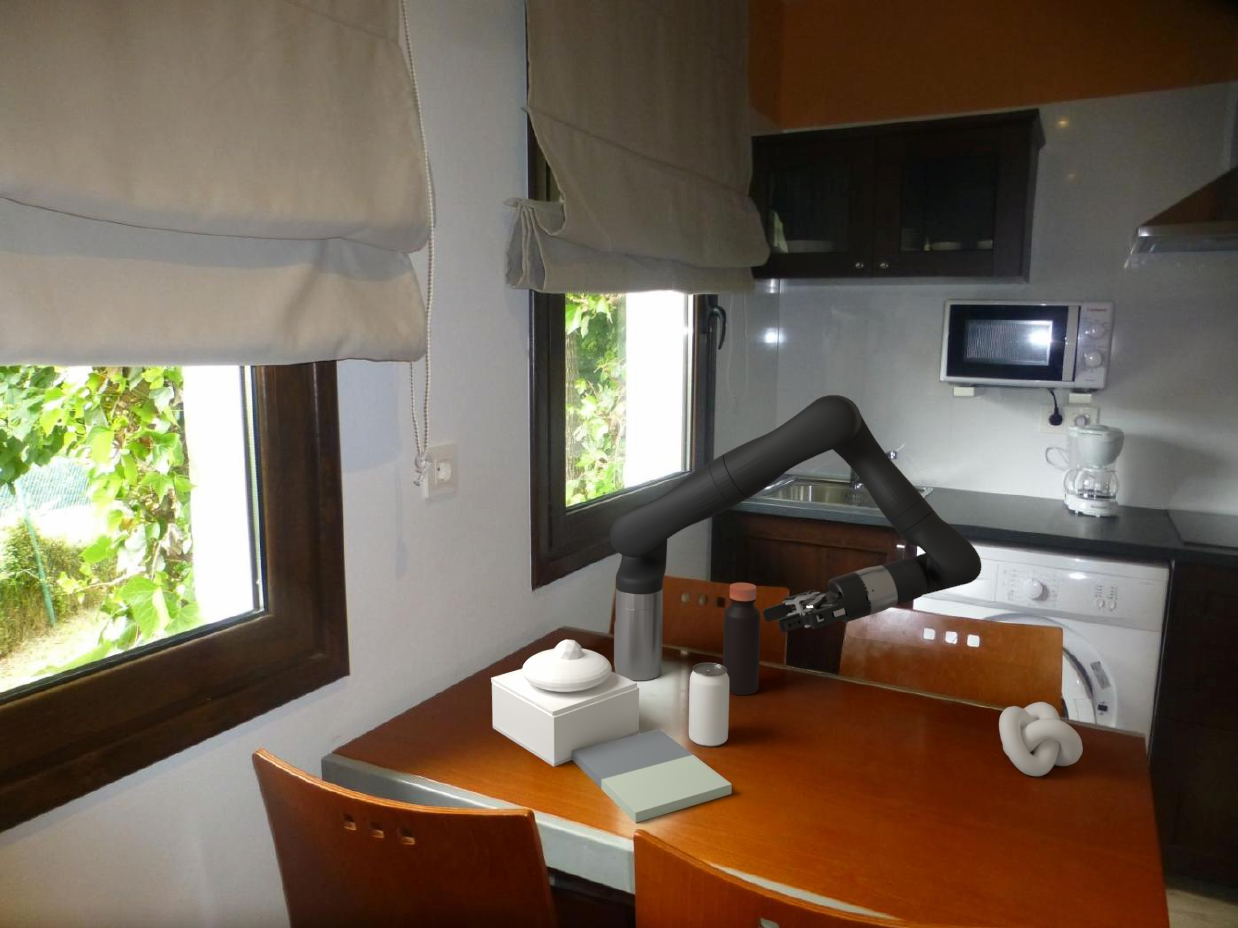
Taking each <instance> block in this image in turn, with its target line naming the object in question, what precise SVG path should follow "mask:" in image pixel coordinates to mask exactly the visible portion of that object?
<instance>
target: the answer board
mask: <svg viewBox="0 0 1238 928" xmlns="http://www.w3.org/2000/svg"><path fill="white" fill-rule="evenodd" d="M571 761H572V762H573V763H575V765H576V766H578V767H579V768H580V769H581V770H582V772H584V774H585V775H587V777H588V778H589V779H590V780H591V781H592V782H593V783H595V784H596V786H598V787H599V788H600V789H601V790H602V792H604V793H605V794H606V795H607V796H608V798H609V799H611V801H613V802H614V803H615V805H617V807H619V808H620V809H621V810H622V811H623V812H624V813H625V815H627V816H628V818H630V819H631V820H632V821H633V822H634V823H635V824H636V823H640V822H644V821H646V820H651V819H653V818H656V817H657V818H658V817H660V816H663V815H666V814H669V813H673V812H676V811H678V810H683V809H686V808H689V807H693V806H695V805H699V804H703V803H706V802H709V801H711V800H716V799H719V798H723V797H726V796H729V795H732V789H733V788H732V785H733V784H732V783H731V782H730V781H728V780H727V779H726V778H724V777H723V776H722V775H720V774H719V773H717V771H715V770H714V769H712V768H711V767H710V766H709V765H707V764H706V763H705V762H703V761H702V760H701V759H699V758H698V757H697V756H696V755H694V754H693V753H692V752H690V751H689V750H687V749H686V748H685V747H684V746H682V745H681V744H680V743H678V742H677V740H674V739H673V738H672V737H670V736H669V735H668V734H667V733H666V732H664V731H663V730H661V729H660V728H658V729H654V730H651V731H650V730H649V731H646V732H642V733H638V734H636V735H633V736H629V737H625V738H621V739H617V740H613V741H609V742H605V743H601V744H597V745H593V746H589V747H585V748H581V749H576V750H572V760H571Z"/></svg>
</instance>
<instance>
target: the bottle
mask: <svg viewBox="0 0 1238 928" xmlns="http://www.w3.org/2000/svg"><path fill="white" fill-rule="evenodd" d="M729 600H730V604H729V605H728V606H727V607H726V608H725V609H724V613H723V648H722V649H723V650H722V665H723V666H724V667H726V668H727V674H728V677H729V694H732V695H735V696H749V695H752V694H755V693H757V691H758V690H759V682H760V681H759V678H760V677H759V675H760V649H761V647H760V646H761V643H760V642H761V618H762V616H761V611H760V610H759V609H758V608H757V607H756V605H755V602H756V600H757V586H756V585H755V584H753V583H749V582H734V583H731V584H730V585H729Z"/></svg>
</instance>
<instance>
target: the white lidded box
mask: <svg viewBox="0 0 1238 928" xmlns="http://www.w3.org/2000/svg"><path fill="white" fill-rule="evenodd" d="M612 670H613V669H612V665H611V663H610V661H609V660H608V658H606V657H605V656H604V655H602V654H600V653H599V652H596V651H594V650H590V649H586V648H582V646H581V645H580V644H579V643H578V642H577V641H576V640H574V639H564V640H561V641H560V642H558V644H556V645H555V647H554V648H550V649H547V650H542V651H540V652H538V653H536V654H534V655H531V656H530V657H529V658H528V659H527V660H526V661H525V662H524V664H523V665H522V668H520V669H516V670H514V671H510V672H506V673H502V674H499V675H496V676H493V677H490V680H491V696H492V699H491V700H492V702H491V705H492V706H491V707H492V712H491V714H492V729H493V730H496V731H497V732H499V733H500V734H501V735H503V736H504V737H506V738H508V739H509V740H511V741H513V742H514V743H516V744H517V745H518V746H521V747H522V748H524V749H525V750H527V751H528V752H529V753H532V754H533V755H535V756H536V757H538V758H539V759H541V760H543V761H544V762H545V763H547V764H548V765H550V766H551V767H557V766H560V765H562V764H565V763H567V762H569V761H573V760H572V750H576V749H581V748H585V747H589V746H593V745H597V744H601V743H605V742H609V741H613V740H617V739H621V738H625V737H629V736H633V735H637V734H639V727H640V723H639V722H640V721H639V719H640V717H639V716H640V712H639V711H640V687H638V683H637V681H635V680H630V679H627V678H625V677H623V676H621V675H619V674H616V673H615V671H612Z"/></svg>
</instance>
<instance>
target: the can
mask: <svg viewBox="0 0 1238 928" xmlns="http://www.w3.org/2000/svg"><path fill="white" fill-rule="evenodd" d="M688 689H689V690H688V691H689V692H688V693H689V696H688V697H689V699H688V701H689V702H688V737H689V739H690V740H691V742H693V743H694V744H696V745H699V746H701V747H709V748H711V747H718V746H721V745H724V744H725V742H727V740H728V738H729V717H730V716H729V715H730V714H729V713H730V712H729V710H730V709H729V707H730V693H729V677H728V674H727V668H726V667H724V666H723V664H720V663H715V662H701V663H697V664H695V665H693V667H692V672H691V673H690V675H689V688H688Z"/></svg>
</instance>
